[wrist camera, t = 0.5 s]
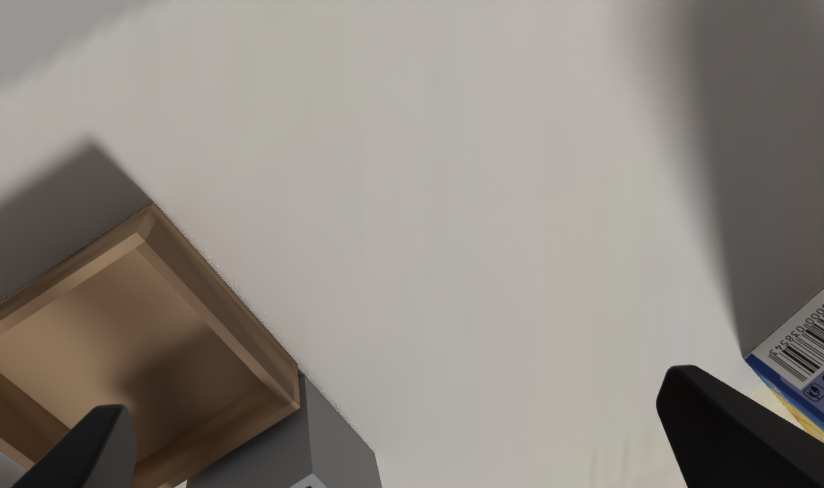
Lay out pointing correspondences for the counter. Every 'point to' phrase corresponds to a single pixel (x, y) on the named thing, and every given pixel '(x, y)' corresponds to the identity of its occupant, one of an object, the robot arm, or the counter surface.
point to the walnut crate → (140, 354)
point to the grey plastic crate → (297, 453)
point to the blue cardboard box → (796, 365)
